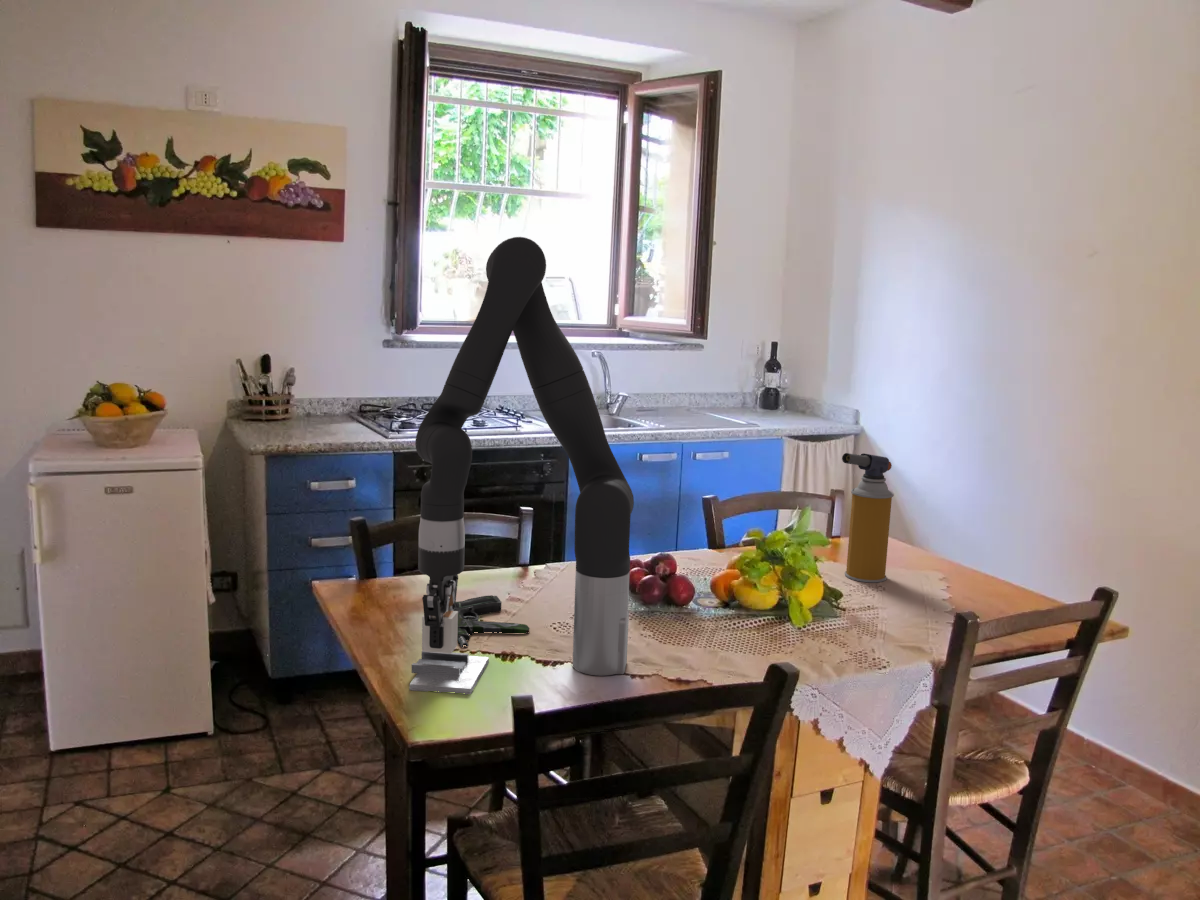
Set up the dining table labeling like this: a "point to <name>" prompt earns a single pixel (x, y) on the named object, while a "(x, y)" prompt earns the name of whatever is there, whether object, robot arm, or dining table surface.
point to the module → (449, 634)
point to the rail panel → (447, 672)
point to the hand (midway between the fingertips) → (440, 642)
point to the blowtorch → (869, 519)
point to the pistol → (478, 607)
